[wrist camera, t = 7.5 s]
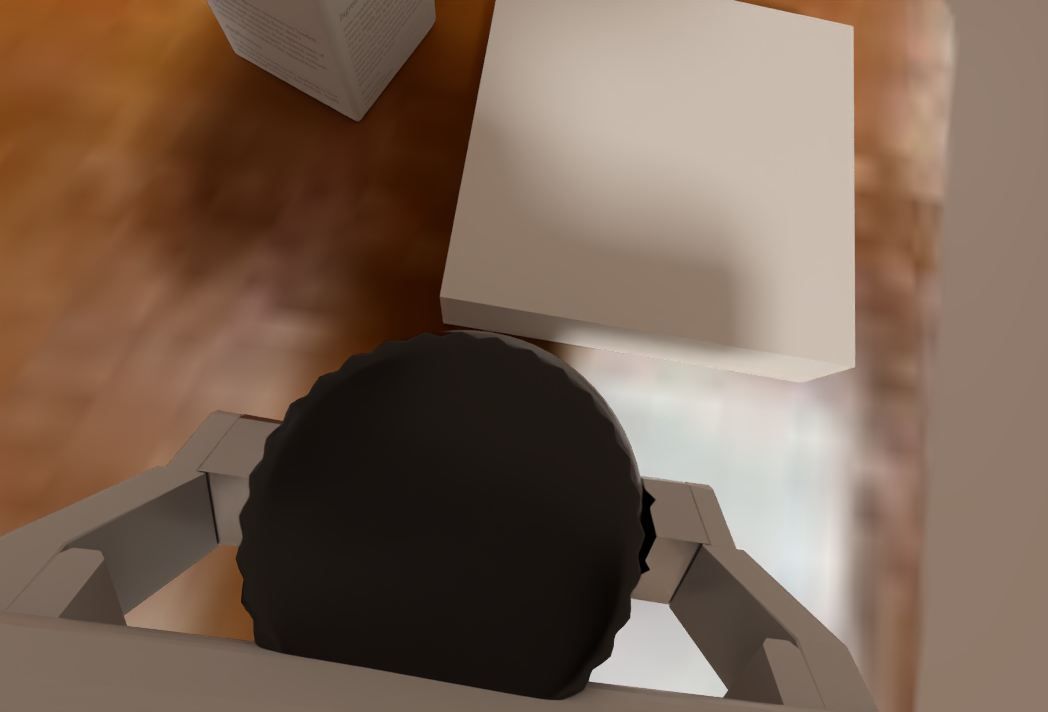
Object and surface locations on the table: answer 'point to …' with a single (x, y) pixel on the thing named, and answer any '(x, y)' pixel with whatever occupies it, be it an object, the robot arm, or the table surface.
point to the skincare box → (328, 43)
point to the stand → (662, 185)
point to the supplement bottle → (447, 518)
